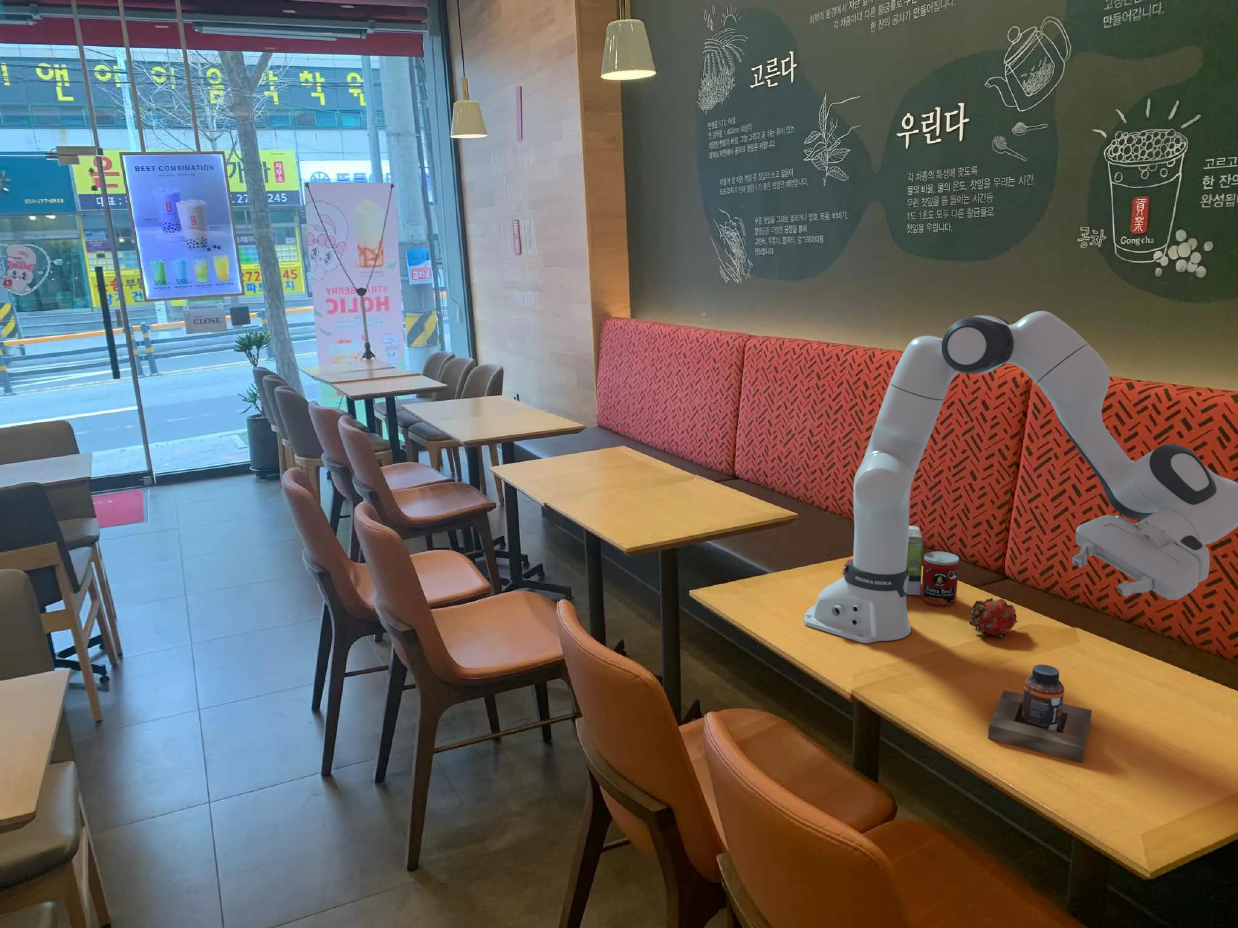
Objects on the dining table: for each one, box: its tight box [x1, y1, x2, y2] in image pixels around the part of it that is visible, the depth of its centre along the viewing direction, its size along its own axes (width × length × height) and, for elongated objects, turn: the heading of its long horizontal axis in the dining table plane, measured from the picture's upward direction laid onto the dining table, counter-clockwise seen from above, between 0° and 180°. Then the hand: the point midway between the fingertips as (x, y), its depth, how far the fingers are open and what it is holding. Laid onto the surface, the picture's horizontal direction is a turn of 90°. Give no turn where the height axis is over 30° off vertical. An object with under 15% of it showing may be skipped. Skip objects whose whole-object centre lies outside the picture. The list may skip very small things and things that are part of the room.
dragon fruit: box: [968, 597, 1018, 639], centre depth 185 cm, size 8×8×12 cm
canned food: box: [920, 550, 960, 608], centre depth 202 cm, size 8×8×11 cm
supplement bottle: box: [1020, 664, 1065, 732], centre depth 146 cm, size 6×6×11 cm
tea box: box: [906, 525, 924, 596], centre depth 211 cm, size 15×10×15 cm
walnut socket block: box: [987, 689, 1093, 764], centre depth 147 cm, size 14×14×2 cm
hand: (1097, 576), depth 147 cm, fingers open, 8 cm apart
